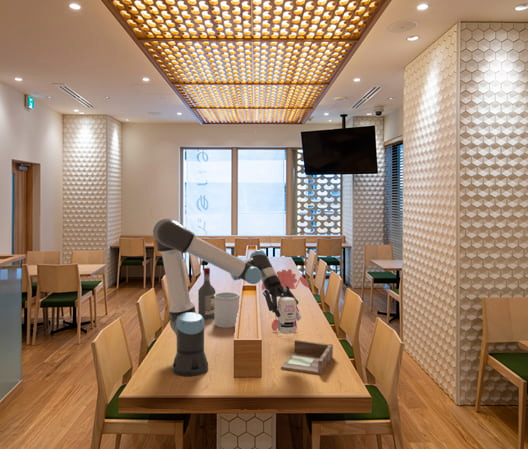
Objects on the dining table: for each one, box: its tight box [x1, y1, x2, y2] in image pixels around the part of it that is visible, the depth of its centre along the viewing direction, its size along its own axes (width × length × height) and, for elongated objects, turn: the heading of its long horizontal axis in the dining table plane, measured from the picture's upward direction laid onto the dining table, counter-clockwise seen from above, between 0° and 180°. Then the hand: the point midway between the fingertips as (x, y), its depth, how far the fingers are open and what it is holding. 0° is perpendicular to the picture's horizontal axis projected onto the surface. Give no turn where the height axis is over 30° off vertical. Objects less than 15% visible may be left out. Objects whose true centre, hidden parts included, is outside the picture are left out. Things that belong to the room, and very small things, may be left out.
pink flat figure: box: [261, 268, 310, 332], centre depth 246 cm, size 15×26×35 cm, turn 94°
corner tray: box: [280, 339, 334, 376], centre depth 203 cm, size 22×18×6 cm
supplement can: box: [277, 297, 297, 335], centre depth 203 cm, size 8×8×15 cm
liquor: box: [197, 267, 216, 320], centre depth 277 cm, size 9×9×30 cm
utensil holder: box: [213, 291, 241, 329], centre depth 262 cm, size 15×15×18 cm
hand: (291, 320), depth 200 cm, fingers closed on supplement can, 8 cm apart
